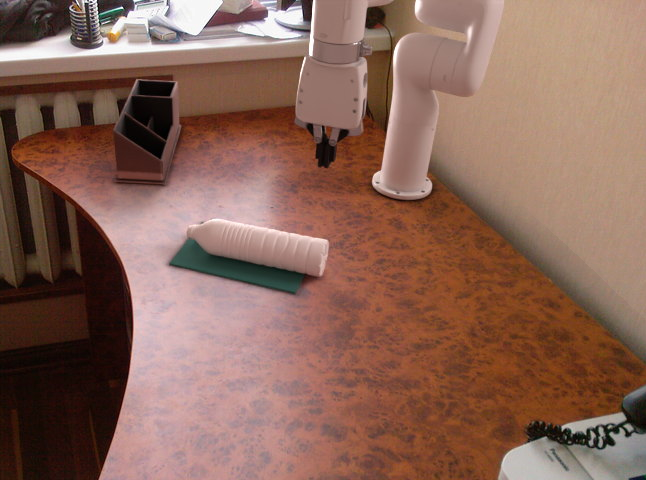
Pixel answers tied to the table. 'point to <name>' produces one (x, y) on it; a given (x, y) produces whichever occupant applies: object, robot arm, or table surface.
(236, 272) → the mat
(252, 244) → the water bottle
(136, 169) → the desk organizer
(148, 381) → the table surface
